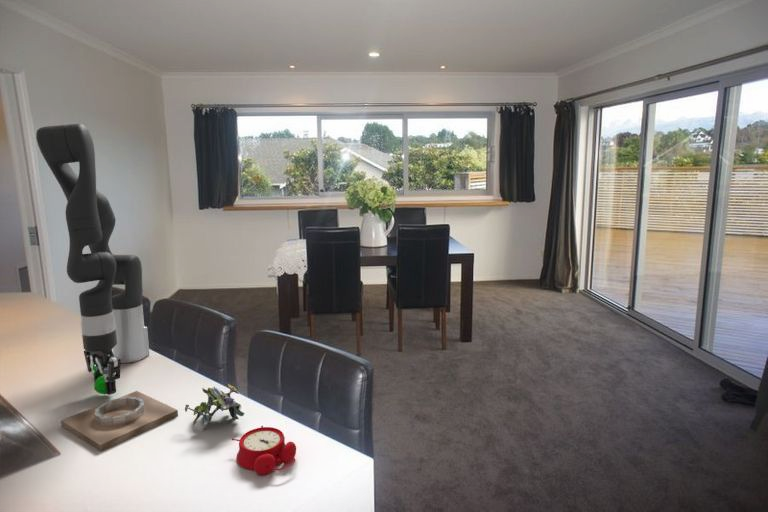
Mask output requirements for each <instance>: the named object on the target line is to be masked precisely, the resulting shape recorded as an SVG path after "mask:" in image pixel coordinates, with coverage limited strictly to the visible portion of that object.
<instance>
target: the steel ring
mask: <svg viewBox="0 0 768 512" xmlns="http://www.w3.org/2000/svg"><path fill="white" fill-rule="evenodd" d="M117 398H118V399H117ZM117 398H114V399H111V400H108V401H107V402H104V403H102V405H101V404H99V405H100V406H99V405H98V406H99V407H98V408H96V409H95V414H94V415H95V423H97V424H99V425H101V426H117V425H122V424H127V423H129V422H131V421H134V420H136V419H138V418H139V417H140V416H141V415H142V414H144V400H142V399H140V398H138V397H124V398H119V397H117ZM124 406H136V407H137V408H136V409H135V410H134V411H131V412H129V413H126V414H123V415H118V416H103V414H104V413H106V412H107V411H110V410H112V409H115V408H119V407H124Z"/></svg>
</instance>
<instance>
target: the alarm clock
mask: <svg viewBox="0 0 768 512" xmlns="http://www.w3.org/2000/svg"><path fill="white" fill-rule="evenodd" d="M285 439H286V438H285V435H284V433H283V431H281V430H280V429H278V428H275V427H271V426H264V425H261V426H260V427H257V428H253V429H251V430H248V431H247V432H245V433H244V434H243V435H242V436H240V438H239V439H236V438H234V437H232V438H231V441H235V442H238V448H239V449H238V452H237V454H236V462H237V464H238V465H239V466H240V467H242V468H243V469H246V470H249V471H254V472H255V473H256V474H257V475H259V476H267V475H269V474H270V473H272V472H273V471H274V470H275V471H280V470H284V469H287V468H288V467H290V466H292V465H293V464H294V463H295V462H296V458H295V457H296V454H297V446H296V443H295V442H293V441H288V442H285ZM289 463H290V464H289ZM280 464H287V465H285V466H284V467H280V468H275V467H277V466H278V465H280Z"/></svg>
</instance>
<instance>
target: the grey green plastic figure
mask: <svg viewBox="0 0 768 512" xmlns="http://www.w3.org/2000/svg"><path fill="white" fill-rule="evenodd" d="M226 386H227V387H228V388H229V389H230V390H229V392H228V393H225V392H224V391H223V390H221V389H220V388H217V387H216V386H213V387H208V388H207V389H205V388H204V386H203V387H202V392H203V393H204V394H206V395H207V402H206V401H201V402H200V404H199V405H196V406H195V407H194V409H193V408H190V405H189V404H185V407H184V412H188V410H190V411H192V412H193V416H196V417H195V418H194V420H193V423H192V424H193V426H195V424H196V423H197V421H198V419H200V418H201V416H202V417H203V427H202V431H204V430H205V428H206V426H207V425H208V424H209V423H210V422H211V421H212V419H213V417H214V415H215V414H216V413H217V411H219V410H220V411H222V412H224V411H227V410H228V412H229V414H230V417H231V418H232V419H234V420H239V417H243V416H244V415H245V412H243V411H241V409H242V405H241V404H240V403H238V402H237V401H235V398H233V397H231V394H232V393H235V394H240V393H241V392H239V390H238V389H237V388H236V387H235V386H234V385H232V384H231V383H228V382H226ZM212 406H215V408H214V410H213V411H212V412H210V411H211V409H212ZM207 414H208V415H207Z"/></svg>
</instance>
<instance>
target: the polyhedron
mask: <svg viewBox="0 0 768 512" xmlns="http://www.w3.org/2000/svg"><path fill="white" fill-rule="evenodd" d="M116 380H117V379H116ZM116 380H115V384H117V382H116ZM93 389H94V391H95V393H98V394H102V395H107V394H106V387H105V379H104V376H103V375H102V376H100V377H98V378H97V379H96V380H95V384H94V386H93Z"/></svg>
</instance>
